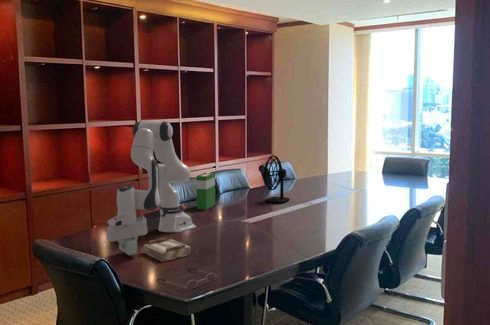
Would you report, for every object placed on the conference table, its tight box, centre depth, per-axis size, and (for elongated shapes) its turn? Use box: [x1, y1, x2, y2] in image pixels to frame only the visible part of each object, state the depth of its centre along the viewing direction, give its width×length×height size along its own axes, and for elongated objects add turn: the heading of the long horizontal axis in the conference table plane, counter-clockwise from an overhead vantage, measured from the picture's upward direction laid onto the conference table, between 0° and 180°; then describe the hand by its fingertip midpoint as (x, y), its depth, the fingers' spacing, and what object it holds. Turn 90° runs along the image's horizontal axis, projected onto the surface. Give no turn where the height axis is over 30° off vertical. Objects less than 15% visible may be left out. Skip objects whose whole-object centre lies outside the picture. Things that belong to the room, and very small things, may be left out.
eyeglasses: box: [156, 267, 218, 291], centre depth 199 cm, size 18×19×4 cm
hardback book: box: [195, 172, 216, 211], centre depth 340 cm, size 18×7×24 cm, turn 164°
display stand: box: [142, 237, 192, 263], centre depth 234 cm, size 16×18×6 cm
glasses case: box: [118, 237, 139, 256], centre depth 231 cm, size 4×12×6 cm, turn 36°
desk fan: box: [262, 154, 291, 204], centre depth 361 cm, size 27×18×35 cm, turn 150°
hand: (128, 246), depth 232 cm, fingers closed on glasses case, 5 cm apart
